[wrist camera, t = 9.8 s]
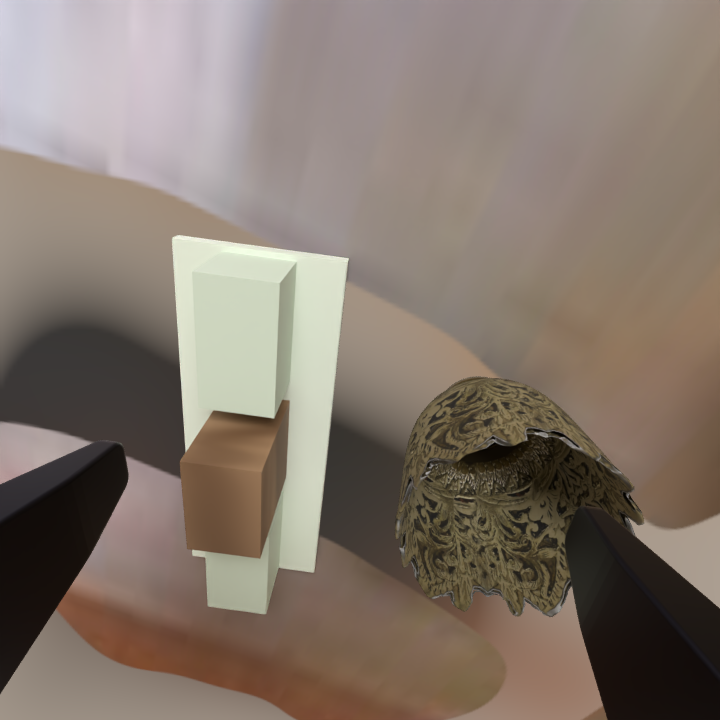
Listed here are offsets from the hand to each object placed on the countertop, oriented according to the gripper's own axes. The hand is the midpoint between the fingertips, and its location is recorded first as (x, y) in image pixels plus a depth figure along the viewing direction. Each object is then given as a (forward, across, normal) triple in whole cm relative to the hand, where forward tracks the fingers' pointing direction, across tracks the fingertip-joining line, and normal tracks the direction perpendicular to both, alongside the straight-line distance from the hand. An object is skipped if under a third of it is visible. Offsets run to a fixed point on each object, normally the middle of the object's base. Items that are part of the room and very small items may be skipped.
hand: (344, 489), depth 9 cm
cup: (+12, -5, +4) cm, 14 cm away
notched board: (+11, +5, +7) cm, 14 cm away
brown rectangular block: (+11, +5, +7) cm, 14 cm away
